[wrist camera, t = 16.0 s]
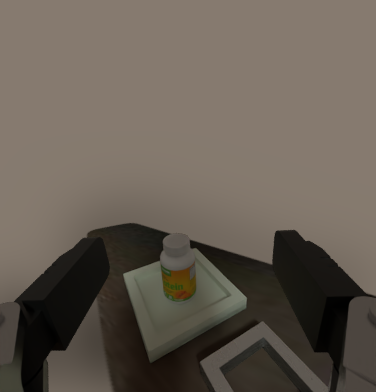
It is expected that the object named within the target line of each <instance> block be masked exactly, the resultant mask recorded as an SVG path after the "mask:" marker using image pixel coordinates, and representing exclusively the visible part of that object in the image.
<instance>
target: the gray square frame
mask: <svg viewBox="0 0 376 392" xmlns="http://www.w3.org/2000/svg"><path fill="white" fill-rule="evenodd" d="M262 347H263V348H264V349H265V351H266V352H267V353H268V354H269V355H270V356H271V358H272V359H273V360H274V361H275V362H276V363H277V365H278V366H279V367H280V368H281V369H282V370H283V372H284V373H285V374H286V375H287V376H288V377H289V379H290V380H291V381H292V382H293V383H294V384H295V386H296V387H297V388H298V389H299V390H300V391H301V392H328V387H327V386H326V385H325V384H324V383H323V382H322V381H321V380H320V379H319V378H318V377H317V376H316V375H315V374H314V373H313V372H312V371H311V370H310V369H309V368H308V367H307V366H306V365H305V364H304V363H303V362H302V361H301V360H300V359H299V358H298V357H297V356H296V355H295V354H294V353H293V352H292V351H291V350H290V349H289V347H288V346H287V345H286V344H285V343H284V342H283V341H282V340H281V339H280V338H279V337H278V336H277V335H276V334H275V333H274V332H273V331H272V330H271V329H270V328H269V327H268V326H267V325H266V324H265V323H264V322H263V321H262V322H261V323H259V324H258V325H256V326H255V327H253V328H251V329H250V330H248V331H247V332H245V333H244V334H242V335H241V336H239V337H238V338H236V339H234V340H233V341H231V342H230V343H228V344H227V345H225V346H224V347H222V348H220V349H219V350H217V351H216V352H214V353H213V354H211V355H210V356H208V357H207V358H205V359H203V360H202V361H200V373H201V375H202V377H203V379H204V381H205V383H206V385H207V387H208V389H209V391H210V392H233V390H232V389H231V387H230V385H229V384H228V382H227V380H226V379H225V377H224V375H225V374H226V373H227V372H229V371H230V370H231V369H233V368H234V367H236V366H237V365H238V364H240V363H241V362H243V361H244V360H245V359H247V358H248V357H249V356H251V355H252V354H254V353H255V352H256V351H258V350H259V349H261V348H262Z"/></svg>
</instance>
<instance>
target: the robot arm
mask: <svg viewBox="0 0 376 392" xmlns="http://www.w3.org/2000/svg"><path fill="white" fill-rule="evenodd" d="M272 261H273V269H274V272H275V275H276V277H277V279H278V281H279V283H280V285H281V287H282V289H283V291H284V293H285V295H286V297H287V299H288V301H289V303H290V305H291V307H292V309H293V311H294V313H295V315H296V317H297V319H298V321H299V323H300V325H301V327H302V329H303V330H304V332H305V334H306V336H307V338H308V340H309V342H310V344H311V346H312V348H313V350H314V352H328V353H329V355H330V357H331V359H332V360H333V364H332V368H331V375H330V381H329V388H328V392H376V298H372V297H369V296H368V295H367V294H366V293H365V292H364V291H363V290H362V289H361V288H360V287H359V286H358V285H357V284H356V283H355V282H354V281H353V280H352V279H351V278H350V277H349V276H348V275H347V274H346V273H345V272H344V271H343V269H341V268H340V267H338V264H337V263H336V262H335V261H334V260H333V259H331V258H330V256H329V255H328V254H327V253H326V252H325V251H324V250H323V249H322V248H320V247H319V246H317V245H316V244H314V243H312V242H310V241H305V240H304V239H303V238H302V237H301V236H300V235H299V233H298V232H297V231H295V230H283V231H276V233H275V237H274V249H273V260H272ZM109 269H110V266H109V261H108V257H107V253H106V249H105V245H104V242H103V239H102V238H100V237H92V238H83V239H81V240H80V241H79V243H78V244H76V245H75V247H74V248H73V249H71V250H69V251H68V252H66V253H65V254H63V255H61V256H60V257H59V258H58V259H57V260H56V261H55V262H54V263H53V264H52V266H50V267H49V268H48V269H47V270H46V271H45V272H44V274H41V276H40V277H39V278H37V279H36V280H35V282H33V284H31V285H30V286H29V287H28V288H27V289H26V290H25V291H24V292H23V293H22V294H21V295H20V296H19V297H18V298H17V299H16V300H15V301H14V302H7V303H3V304H0V392H48V362H47V360H46V358H47V356H48V354H49V353H50V351H52V350H53V351H54V350H56V351H57V350H58V351H60V350H61V351H62V350H63V351H65V350H66V348H67V347H68V345H69V343H70V341H71V340H72V338H73V336H74V335H75V333H76V331H77V329H78V327H79V326H80V324H81V322H82V321H83V319H84V317H85V315H86V314H87V312H88V310H89V309H90V307H91V305H92V303H93V302H94V300H95V298H96V296H97V295H98V293H99V291H100V290H101V288H102V286H103V284H104V283H105V281H106V279H107V277H108V275H109Z"/></svg>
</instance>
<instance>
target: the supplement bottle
mask: <svg viewBox="0 0 376 392" xmlns="http://www.w3.org/2000/svg"><path fill="white" fill-rule="evenodd" d="M163 249H164V250H163V251H162V253H161V255H160V264H161V273H162V282H163V291H164V296H165V297H166V299H167V300H168V301H170V302H172V303H175V304H183V303H186V302H188V301H190V300H191V299H192V298H193V297H194V296H195V294H196V268H195V254H194V251H193V250H192V249H191V248H190V240H189V237H188V236H187V235H185V234H180V233H175V234H170V235H168V236H166V237H165V238H164V240H163Z"/></svg>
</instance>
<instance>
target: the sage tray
mask: <svg viewBox="0 0 376 392" xmlns="http://www.w3.org/2000/svg"><path fill="white" fill-rule="evenodd" d="M192 250H193V251H194V254H195V268H196V294H195V296H194V297H193V298H192V299H191V300H190V301H188V302H186V303H183V304H175V303H172V302H170V301H168V300H167V299H166V297H165V296H164V291H163V282H162V273H161V264H160V261H158V262H155V263H153V264H150V265H147V266H144V267H141V268H139V269H136V270H133V271H130V272H128V273H125V274H123V276H124V281H125V285H126V288H127V291H128V294H129V297H130V301H131V304H132V307H133V310H134V313H135V317H136V320H137V323H138V326H139V329H140V333H141V336H142V339H143V342H144V345H145V349H146V352H147V355H148V358H149V361H150V363H152V362H154V361H156V360H157V359H159V358H161V357H163V356H164V355H166V354H168V353H169V352H171V351H173V350H175V349H176V348H178V347H180V346H182V345H183V344H185V343H187V342H188V341H190V340H192V339H194V338H195V337H197V336H199V335H201V334H202V333H204V332H206V331H207V330H209V329H211V328H213V327H214V326H216V325H218V324H220V323H221V322H223V321H225V320H226V319H228V318H230V317H232V316H233V315H235V314H237V313H239V312H240V311H242V310H244V309H245V308H246V301H247V298H246V297H245V296H244V295H243V294H242V293H241V292H240V291H239V290H238V289H237V288H236V287H235V286H234V285H233V284H232V283H231V282H230V281H229V280H228V279H227V278H226V277H225V276H224V275H223V274H222V273H221V272H220V271H219V270H218V269H217V268H216V267H215V266H214V265H213V264H212V263H211V262H210V261H209V260H208V259H207V258H206V257H205V256H204V255H202V254H201V253H200V252H199V251H198V250H197V249H196V248H194V249H192Z"/></svg>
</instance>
